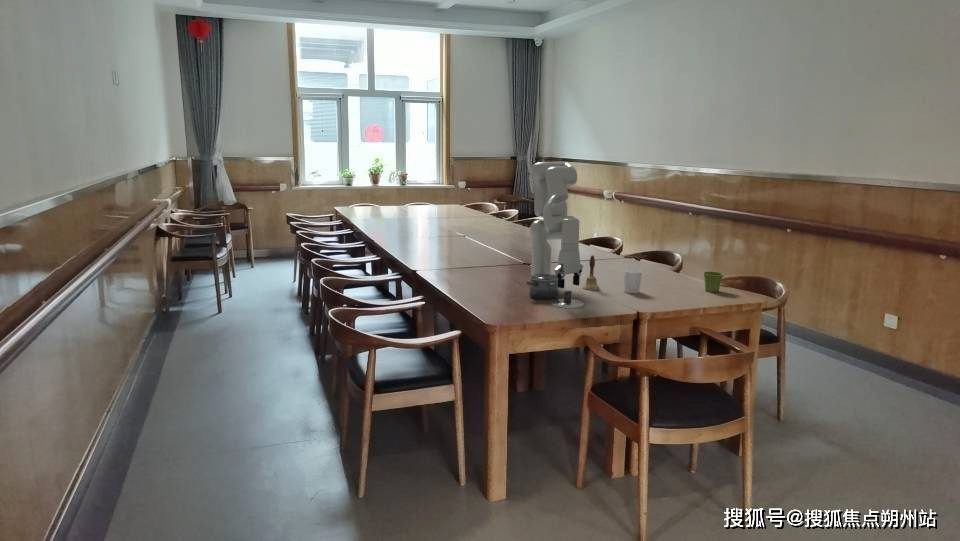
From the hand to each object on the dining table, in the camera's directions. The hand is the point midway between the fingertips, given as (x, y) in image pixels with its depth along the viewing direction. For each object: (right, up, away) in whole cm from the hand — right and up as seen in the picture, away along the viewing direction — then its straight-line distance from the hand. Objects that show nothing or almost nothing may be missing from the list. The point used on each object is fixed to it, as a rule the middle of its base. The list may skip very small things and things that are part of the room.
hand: (568, 286), depth 277 cm
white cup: (+33, -4, +26) cm, 42 cm away
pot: (-9, -5, +15) cm, 19 cm away
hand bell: (+15, -2, +33) cm, 36 cm away
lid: (0, -8, +2) cm, 8 cm away
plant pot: (+73, -3, +30) cm, 78 cm away
